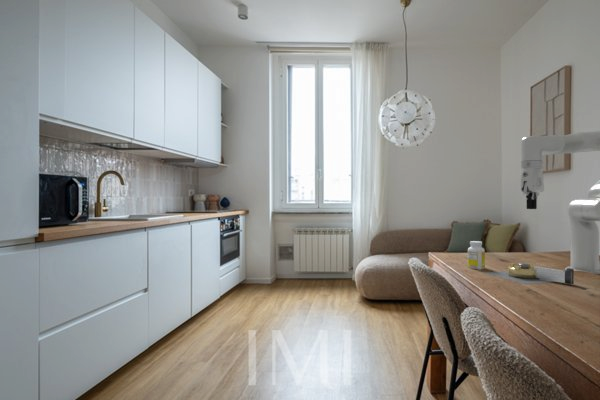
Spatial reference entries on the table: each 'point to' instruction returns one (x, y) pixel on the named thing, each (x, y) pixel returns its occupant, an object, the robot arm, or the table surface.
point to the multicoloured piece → (541, 273)
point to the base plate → (521, 280)
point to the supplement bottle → (476, 255)
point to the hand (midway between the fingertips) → (531, 208)
